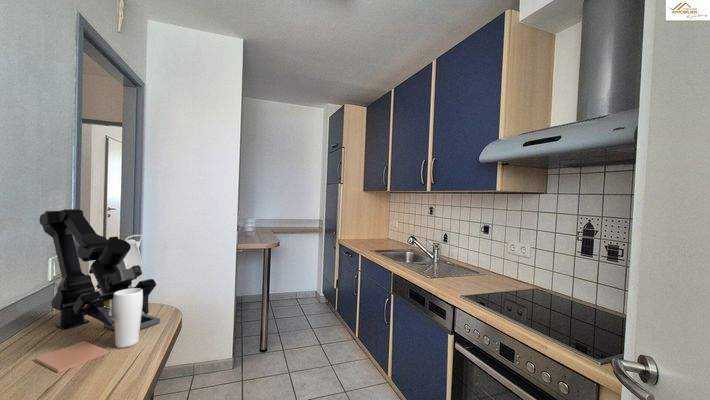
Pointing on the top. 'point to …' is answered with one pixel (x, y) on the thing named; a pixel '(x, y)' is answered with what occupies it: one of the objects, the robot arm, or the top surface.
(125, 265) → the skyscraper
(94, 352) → the terracotta tile
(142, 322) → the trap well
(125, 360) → the top surface
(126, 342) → the white cup
